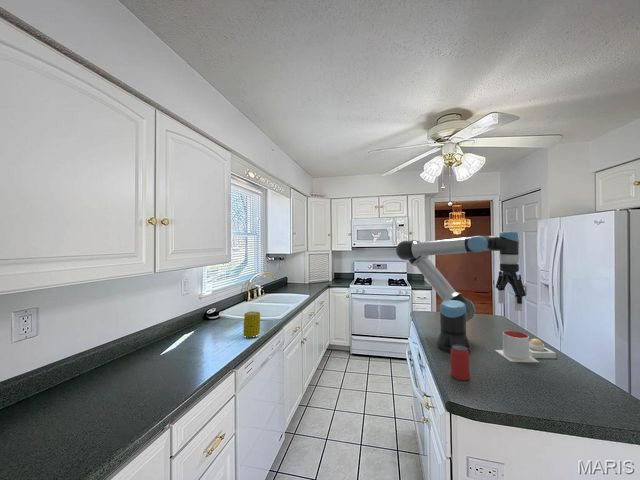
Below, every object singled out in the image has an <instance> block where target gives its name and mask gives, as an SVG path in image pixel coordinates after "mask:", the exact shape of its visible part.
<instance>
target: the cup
mask: <svg viewBox="0 0 640 480" xmlns="http://www.w3.org/2000/svg"><path fill="white" fill-rule="evenodd" d="M529 341H530V336H529V335H528V334H526V333H523V332H520V331H515V330H503V331H502V350H503V352H504V353H505V354H506V355H507V356H509V357H512V358H516V359H527V358H528V357H529Z"/></svg>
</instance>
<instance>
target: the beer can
mask: <svg viewBox="0 0 640 480" xmlns="http://www.w3.org/2000/svg"><path fill="white" fill-rule="evenodd" d="M450 375H451V376H452V378H454V379H456V380H459V381H468V380H469V379H470V353H469V352H468V350H467V347H465V346H462V345H453V346H452V349H451V353H450Z"/></svg>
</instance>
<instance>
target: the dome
mask: <svg viewBox="0 0 640 480" xmlns="http://www.w3.org/2000/svg"><path fill="white" fill-rule="evenodd" d="M544 347H545V344H544V343H543V342H542V341H541V340H540V339H538V338H531V339H529V349H531V350H532V351H544Z"/></svg>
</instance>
